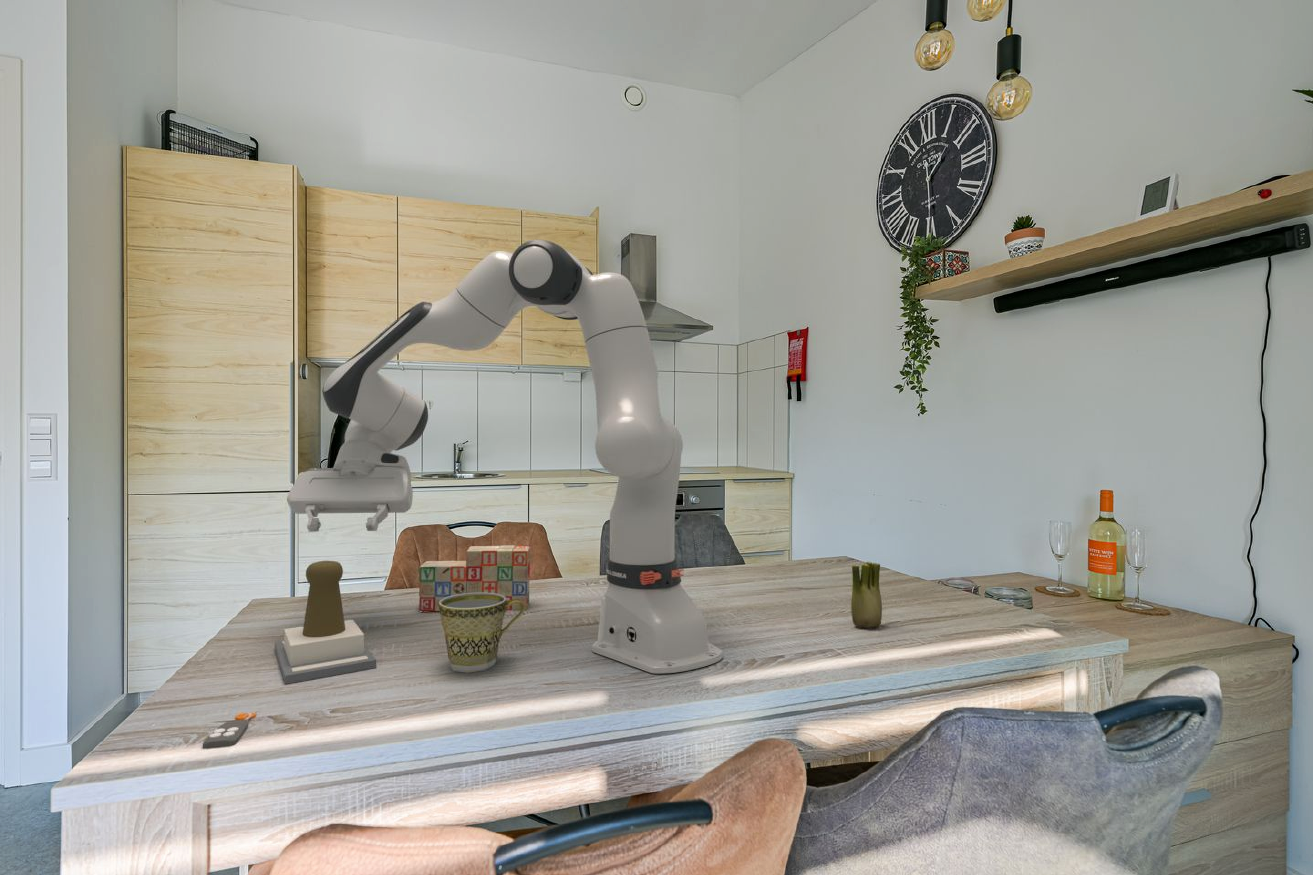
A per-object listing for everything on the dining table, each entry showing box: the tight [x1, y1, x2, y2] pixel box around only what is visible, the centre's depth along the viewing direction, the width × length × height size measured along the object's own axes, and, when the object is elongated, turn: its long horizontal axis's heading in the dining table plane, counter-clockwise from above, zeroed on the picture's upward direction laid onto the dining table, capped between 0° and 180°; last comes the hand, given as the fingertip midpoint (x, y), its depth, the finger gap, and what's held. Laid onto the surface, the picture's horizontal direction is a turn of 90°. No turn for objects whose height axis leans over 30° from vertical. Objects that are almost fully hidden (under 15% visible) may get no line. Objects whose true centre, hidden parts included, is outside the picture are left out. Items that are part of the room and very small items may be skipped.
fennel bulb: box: [850, 561, 883, 630], centre depth 122 cm, size 6×5×12 cm
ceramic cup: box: [439, 592, 525, 674], centre depth 101 cm, size 13×10×10 cm
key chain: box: [202, 708, 261, 750], centre depth 80 cm, size 13×4×2 cm, turn 14°
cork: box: [302, 560, 345, 637], centre depth 103 cm, size 6×6×11 cm
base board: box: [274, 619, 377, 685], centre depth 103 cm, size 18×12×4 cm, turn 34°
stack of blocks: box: [418, 544, 531, 613], centre depth 134 cm, size 21×6×12 cm, turn 97°
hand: (341, 529), depth 111 cm, fingers open, 8 cm apart
